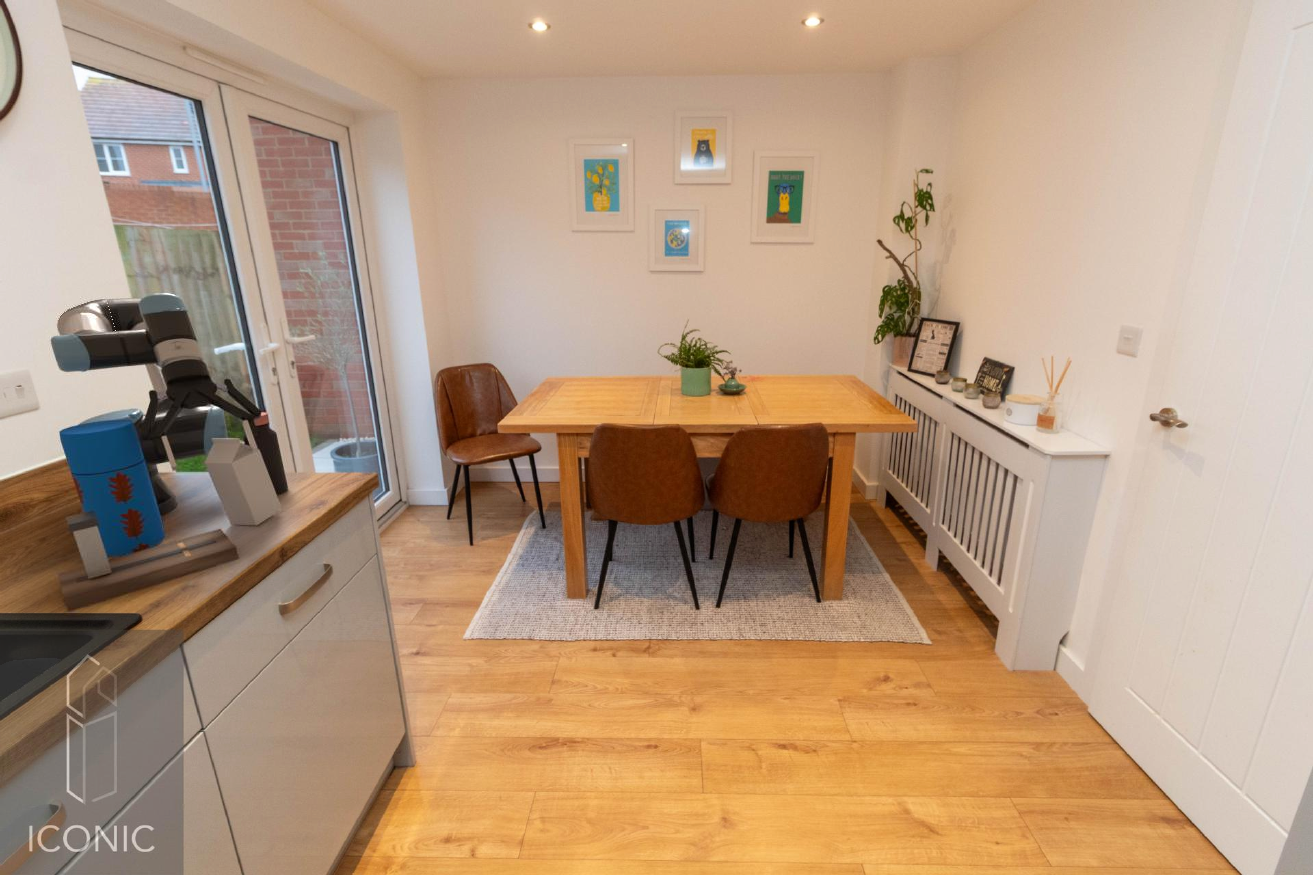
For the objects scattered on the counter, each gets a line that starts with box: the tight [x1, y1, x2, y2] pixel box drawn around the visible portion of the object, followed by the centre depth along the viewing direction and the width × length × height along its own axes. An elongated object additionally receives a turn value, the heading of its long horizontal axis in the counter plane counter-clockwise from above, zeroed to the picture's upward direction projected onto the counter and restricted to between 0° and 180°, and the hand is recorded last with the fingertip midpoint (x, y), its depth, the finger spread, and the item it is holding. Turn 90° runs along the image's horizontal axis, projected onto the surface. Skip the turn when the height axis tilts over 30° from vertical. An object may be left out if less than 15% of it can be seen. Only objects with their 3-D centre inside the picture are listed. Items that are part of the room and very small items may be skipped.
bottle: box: [242, 411, 289, 496], centre depth 144 cm, size 7×7×20 cm
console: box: [57, 528, 240, 612], centre depth 109 cm, size 12×24×3 cm, turn 137°
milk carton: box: [203, 437, 283, 526], centre depth 127 cm, size 7×7×19 cm
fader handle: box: [65, 511, 112, 579], centre depth 102 cm, size 5×4×10 cm
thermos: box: [59, 420, 166, 557], centre depth 117 cm, size 11×11×25 cm
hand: (216, 459), depth 120 cm, fingers open, 13 cm apart
